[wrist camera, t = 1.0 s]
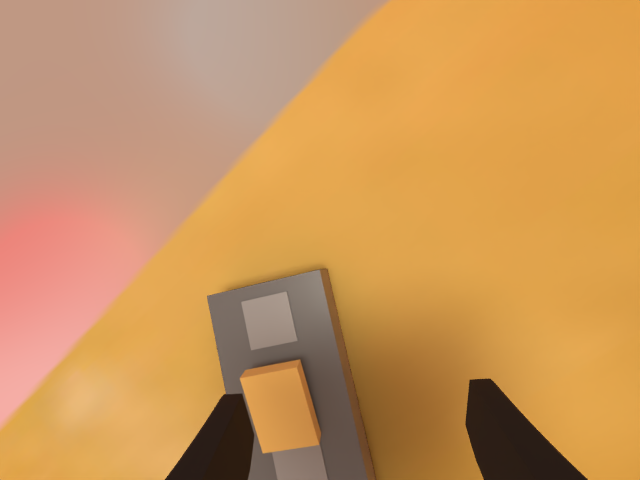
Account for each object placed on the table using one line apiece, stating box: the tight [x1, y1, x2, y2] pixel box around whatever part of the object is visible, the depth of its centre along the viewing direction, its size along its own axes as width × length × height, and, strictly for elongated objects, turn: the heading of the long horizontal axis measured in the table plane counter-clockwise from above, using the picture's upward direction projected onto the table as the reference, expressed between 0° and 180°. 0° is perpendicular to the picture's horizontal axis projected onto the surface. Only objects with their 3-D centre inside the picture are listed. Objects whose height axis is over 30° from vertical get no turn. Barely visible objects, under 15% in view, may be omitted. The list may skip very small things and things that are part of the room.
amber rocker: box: [240, 359, 321, 453], centre depth 21 cm, size 5×4×1 cm
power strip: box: [207, 269, 376, 480], centre depth 24 cm, size 20×8×3 cm, turn 13°
